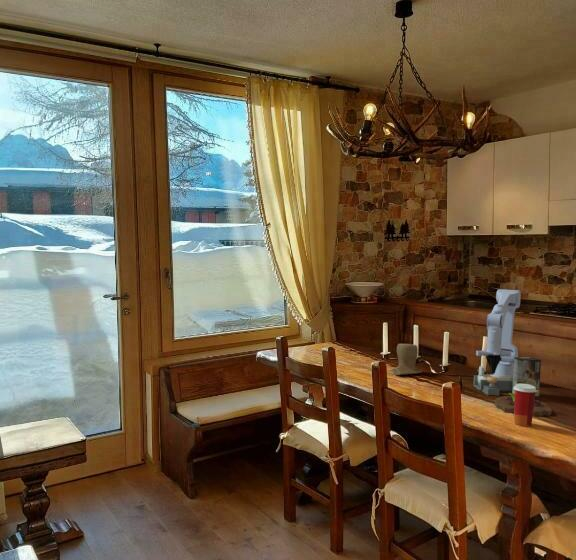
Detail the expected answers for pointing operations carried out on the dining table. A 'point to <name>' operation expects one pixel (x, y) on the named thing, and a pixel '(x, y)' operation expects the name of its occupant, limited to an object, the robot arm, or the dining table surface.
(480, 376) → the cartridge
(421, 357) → the dining table surface
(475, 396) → the dining table surface
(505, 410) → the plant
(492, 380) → the plunger
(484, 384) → the housing
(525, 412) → the paper cup
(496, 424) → the dining table surface
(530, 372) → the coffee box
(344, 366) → the dining table surface
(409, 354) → the grey top hat
